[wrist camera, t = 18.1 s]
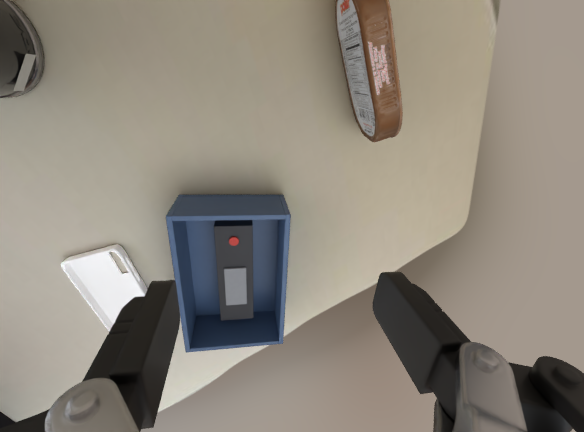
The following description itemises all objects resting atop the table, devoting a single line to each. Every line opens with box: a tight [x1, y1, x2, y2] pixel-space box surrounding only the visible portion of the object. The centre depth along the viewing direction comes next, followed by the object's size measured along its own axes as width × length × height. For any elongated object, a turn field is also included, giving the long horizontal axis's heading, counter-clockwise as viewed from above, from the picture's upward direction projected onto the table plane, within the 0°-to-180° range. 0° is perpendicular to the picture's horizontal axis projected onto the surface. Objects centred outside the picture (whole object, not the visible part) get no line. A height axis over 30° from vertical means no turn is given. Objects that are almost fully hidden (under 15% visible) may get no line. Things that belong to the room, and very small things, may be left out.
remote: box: [214, 220, 254, 321], centre depth 38 cm, size 5×15×4 cm, turn 177°
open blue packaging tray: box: [166, 195, 291, 352], centre depth 37 cm, size 13×20×6 cm, turn 177°
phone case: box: [61, 244, 148, 331], centre depth 38 cm, size 7×1×15 cm
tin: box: [336, 0, 403, 142], centre depth 28 cm, size 15×3×8 cm, turn 18°
